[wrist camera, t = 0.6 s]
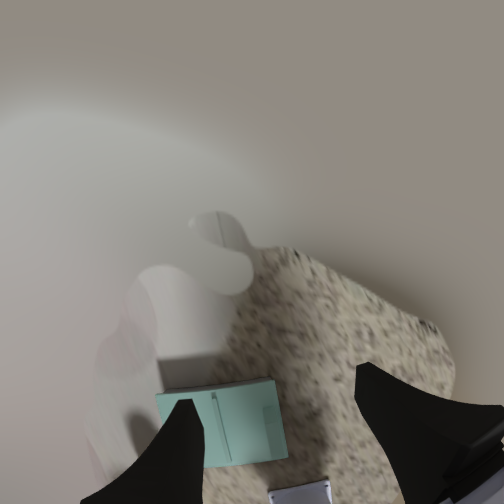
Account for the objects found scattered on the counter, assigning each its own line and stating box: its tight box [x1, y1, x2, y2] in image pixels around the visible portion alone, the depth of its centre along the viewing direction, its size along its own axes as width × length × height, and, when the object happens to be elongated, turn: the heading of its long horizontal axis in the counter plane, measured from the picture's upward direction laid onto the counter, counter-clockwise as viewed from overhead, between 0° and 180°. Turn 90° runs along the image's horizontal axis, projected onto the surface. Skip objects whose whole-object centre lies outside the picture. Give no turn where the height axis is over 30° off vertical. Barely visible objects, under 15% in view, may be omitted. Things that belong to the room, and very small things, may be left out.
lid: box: [155, 380, 289, 468], centre depth 23 cm, size 10×13×5 cm
